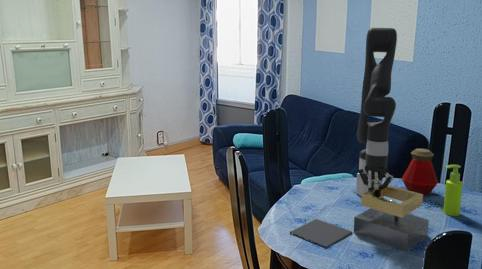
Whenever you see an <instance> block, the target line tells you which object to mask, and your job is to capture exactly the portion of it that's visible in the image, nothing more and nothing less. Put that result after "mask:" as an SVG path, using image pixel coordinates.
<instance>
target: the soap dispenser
mask: <svg viewBox="0 0 482 269" xmlns="http://www.w3.org/2000/svg"><path fill="white" fill-rule="evenodd" d="M444 167H445V168H447V169H453V170H452V171H451V172H450V175H449V179H447V180H446V182H445V190H444V200H443V211H442V213H443V214H445V215H448V216H452V217H453V216H454V217H458V216H460V214H461V204H462V197H463V196H462V194H463V184H464V183H463V181H460V179H461V178H460V177H461V174H460V173H459V168H461V167H462V166H461V165H459V164H448V165H445V166H444Z"/></svg>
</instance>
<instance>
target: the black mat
mask: <svg viewBox="0 0 482 269" xmlns="http://www.w3.org/2000/svg"><path fill="white" fill-rule="evenodd" d="M290 233H293V234H295V235H297V236H296V237H298V236H300V237H302V238H305V239H307V240H309V241H308V242H310V241H312V242H314V243H313V244H315V243H317V244H319V245H318V246H320V245H321V246H320V247H322V246H323V247H322V248H324V247H326V248H325V249H327V248H329V247H331V246H332V244H333V245H334V244H336V243H338V242H339V240H340V241H341V240H343V239H344V238H347V237H348V236H350V235H352V234H353V231H351V230H348V229H347V228H343V227H340V226H338V225H334V224H332V223H329V222H327V221H324V220H320V219H317V218H315V219H313V220H311V221H309V222H307V223H305V224H303V225H300V226H299V227H297V228H295V229H293V230H290V231H289V234H290ZM293 234H292V235H293ZM295 235H294V236H295ZM300 237H299V238H300ZM302 238H301V239H302ZM305 239H304V240H305ZM307 240H306V241H307ZM337 241H338V242H337ZM312 242H311V243H312ZM335 242H336V243H335ZM317 244H316V245H317ZM330 245H331V246H330ZM328 246H329V247H328Z"/></svg>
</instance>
